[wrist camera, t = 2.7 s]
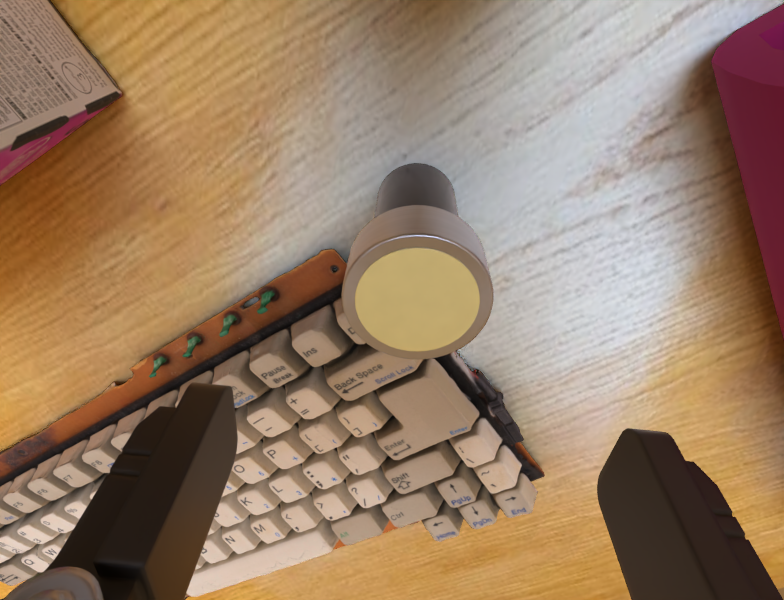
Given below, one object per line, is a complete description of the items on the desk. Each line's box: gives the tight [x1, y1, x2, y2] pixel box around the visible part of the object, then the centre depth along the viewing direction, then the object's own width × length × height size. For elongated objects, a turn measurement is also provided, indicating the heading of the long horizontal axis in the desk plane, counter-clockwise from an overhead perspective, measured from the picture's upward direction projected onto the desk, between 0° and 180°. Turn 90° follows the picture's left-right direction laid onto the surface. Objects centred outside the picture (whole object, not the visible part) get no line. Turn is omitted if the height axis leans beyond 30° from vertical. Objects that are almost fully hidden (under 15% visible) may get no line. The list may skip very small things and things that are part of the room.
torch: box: [341, 163, 493, 360], centre depth 17 cm, size 4×4×8 cm
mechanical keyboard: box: [0, 249, 545, 600], centre depth 30 cm, size 38×19×3 cm, turn 125°
